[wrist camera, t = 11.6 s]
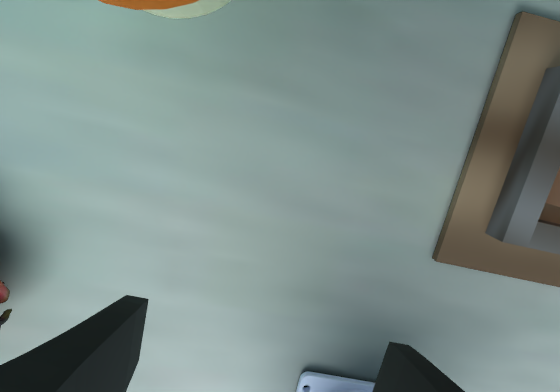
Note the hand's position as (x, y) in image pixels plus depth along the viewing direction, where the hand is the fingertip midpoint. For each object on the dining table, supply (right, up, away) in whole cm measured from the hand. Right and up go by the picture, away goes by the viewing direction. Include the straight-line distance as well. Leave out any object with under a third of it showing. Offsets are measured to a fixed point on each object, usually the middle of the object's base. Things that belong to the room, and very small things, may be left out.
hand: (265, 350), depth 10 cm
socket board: (+18, +6, +10) cm, 21 cm away
